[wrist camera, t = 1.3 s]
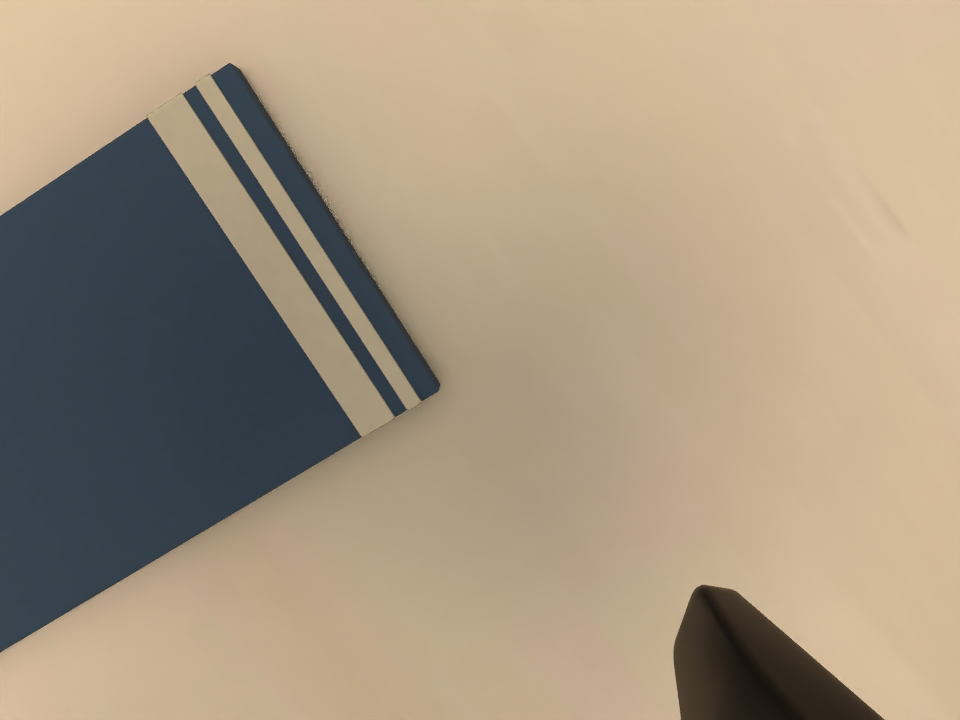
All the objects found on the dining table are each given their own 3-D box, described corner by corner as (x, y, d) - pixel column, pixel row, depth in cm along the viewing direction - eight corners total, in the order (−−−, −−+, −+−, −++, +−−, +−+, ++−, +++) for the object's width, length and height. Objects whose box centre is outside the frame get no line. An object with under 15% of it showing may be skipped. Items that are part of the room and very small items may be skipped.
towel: (-57, 681, 24) (-77, 698, 23) (-286, 416, 22) (-317, 424, 21) (441, 384, 22) (439, 391, 22) (238, 67, 20) (228, 60, 20)
